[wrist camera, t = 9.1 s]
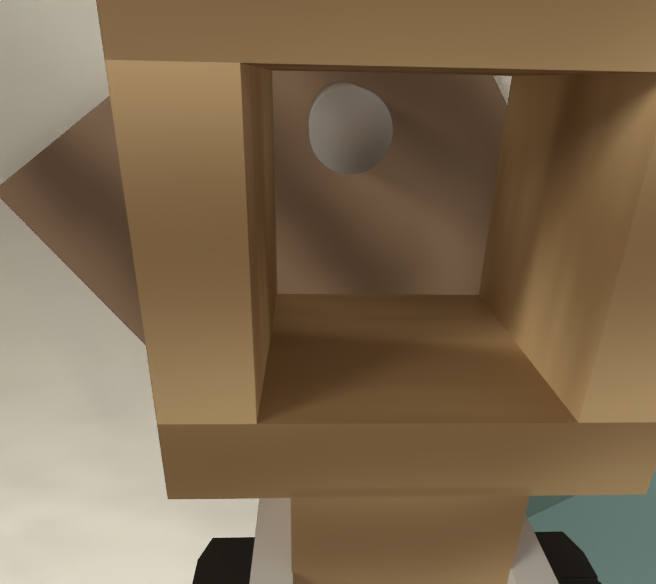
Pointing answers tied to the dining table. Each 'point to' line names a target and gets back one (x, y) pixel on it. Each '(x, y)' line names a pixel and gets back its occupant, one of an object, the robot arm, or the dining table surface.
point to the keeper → (605, 531)
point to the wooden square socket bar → (395, 309)
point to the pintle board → (308, 188)
